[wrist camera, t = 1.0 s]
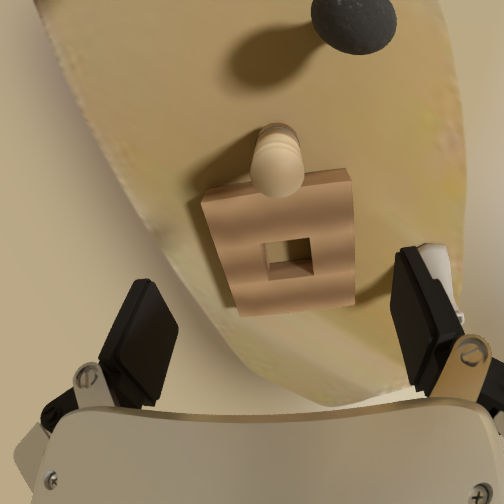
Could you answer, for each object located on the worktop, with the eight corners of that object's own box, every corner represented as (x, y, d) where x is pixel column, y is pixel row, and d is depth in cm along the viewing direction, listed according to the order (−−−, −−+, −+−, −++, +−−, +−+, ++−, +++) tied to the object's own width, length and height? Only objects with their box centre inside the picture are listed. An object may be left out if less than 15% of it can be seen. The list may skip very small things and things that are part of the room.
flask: (450, 236, 32) (486, 293, 24) (446, 279, 36) (472, 336, 28) (398, 248, 33) (425, 310, 26) (398, 290, 38) (419, 351, 30)
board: (206, 189, 31) (200, 203, 29) (345, 168, 28) (351, 180, 26) (242, 299, 40) (240, 317, 38) (350, 287, 38) (354, 304, 35)
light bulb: (296, 43, 22) (306, 38, 14) (309, -11, 18) (327, -42, 10) (357, 62, 22) (398, 69, 14) (372, 9, 19) (418, -7, 11)
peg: (253, 122, 26) (243, 153, 19) (293, 115, 26) (300, 143, 19) (261, 158, 29) (255, 202, 21) (300, 152, 28) (308, 194, 21)
